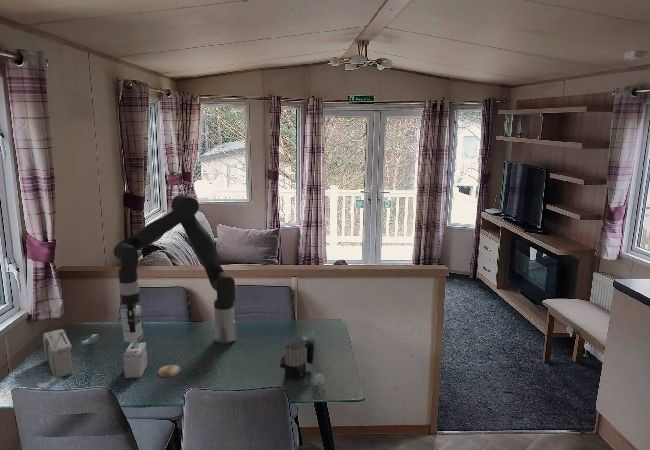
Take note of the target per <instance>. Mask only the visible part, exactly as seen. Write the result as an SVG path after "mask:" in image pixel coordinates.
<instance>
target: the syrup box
mask: <svg viewBox="0 0 650 450" xmlns="http://www.w3.org/2000/svg"><path fill="white" fill-rule="evenodd" d="M134 307H136V309H134V313H135V310H136V318H135V330H136V331H135V332H133V333H130V330H129V325H128V319H127V312H126V311H128V309H126V308H128V307H126V306H125V307H123V308H122V309H120V316H121V323H122V324H121V325H122V332H123V333H122V334H123V341H124V342H127V343H139V341H140V340H142V339H143V338H144V335H145V333H144V324H143V315H142V306H141V305H140V304H136V306H134ZM130 321H133V319H130Z"/></svg>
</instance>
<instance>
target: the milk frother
mask: <svg viewBox="0 0 650 450" xmlns="http://www.w3.org/2000/svg"><path fill="white" fill-rule="evenodd" d="M283 345H284V356H283V357H282V358H281V359H280V364H281V365H282V366H283V367H284V373H283V375H284V377H285V378H286V379H287V380H289V381H290V380H291V381H299V380H303V379H304V378H306V376H307V372H306V366H307V365H306V362H307V364H309V365H312V364H313V363H314V353H315V352H314V351H315V349H314V348H315V347H314V344H313V343H312V342H311V341H309V340H304V338H299V337H292V338H291V337H290V338H288V339H286V340H285V341H284V342H283Z"/></svg>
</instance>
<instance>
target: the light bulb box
mask: <svg viewBox="0 0 650 450" xmlns="http://www.w3.org/2000/svg"><path fill="white" fill-rule="evenodd" d="M147 354H148V353H147V343H146V342H137V343H133V342H129V345H128V347H127V349H125V351H124V353H123V354H122V357H123V359H122V360H123V368H124V370H123V371H124V378H125V379H126V378H127V379H128V378H129V379H130V378H141V377H142V375H143V373H144V371H145V370H146V369H147V366H148V355H147Z"/></svg>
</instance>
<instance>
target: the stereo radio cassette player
mask: <svg viewBox="0 0 650 450" xmlns="http://www.w3.org/2000/svg"><path fill="white" fill-rule="evenodd" d="M66 332H67V330H66V329H65V330H64V329H63V328H61V329H56V330H52V331H48V332H44V333H43V334H42V340H43V348H44V353H45V358H46V361H47V363H48V365H49V368H50V371H51V374H52V376H53V377H54V378H55V379H59V378H62V377H65V376H69V375H72V374H73V372H74V371H73V370H74V369H73V362H72V356H71V350H73V346H72V344H71V342H70V339H68V336H67V334H66Z"/></svg>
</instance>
